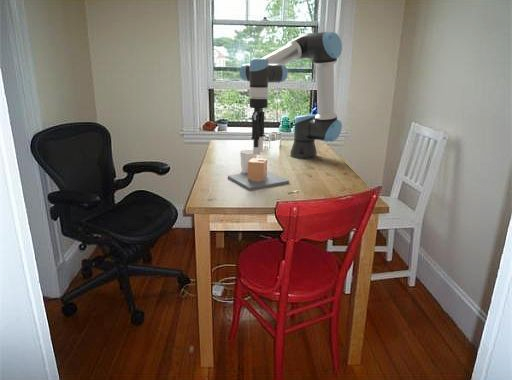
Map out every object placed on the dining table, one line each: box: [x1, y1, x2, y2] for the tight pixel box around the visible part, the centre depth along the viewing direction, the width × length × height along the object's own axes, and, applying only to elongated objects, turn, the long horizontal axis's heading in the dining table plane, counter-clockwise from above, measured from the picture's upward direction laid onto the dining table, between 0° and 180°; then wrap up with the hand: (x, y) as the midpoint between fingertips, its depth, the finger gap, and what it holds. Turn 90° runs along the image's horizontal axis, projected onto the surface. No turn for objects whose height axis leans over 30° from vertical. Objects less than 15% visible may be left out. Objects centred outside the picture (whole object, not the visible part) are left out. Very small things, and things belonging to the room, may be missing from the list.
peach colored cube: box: [248, 157, 268, 181], centre depth 160 cm, size 7×7×8 cm
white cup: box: [239, 149, 258, 173], centre depth 174 cm, size 8×8×10 cm
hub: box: [227, 170, 290, 191], centre depth 161 cm, size 20×20×5 cm
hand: (258, 152), depth 157 cm, fingers open, 5 cm apart
